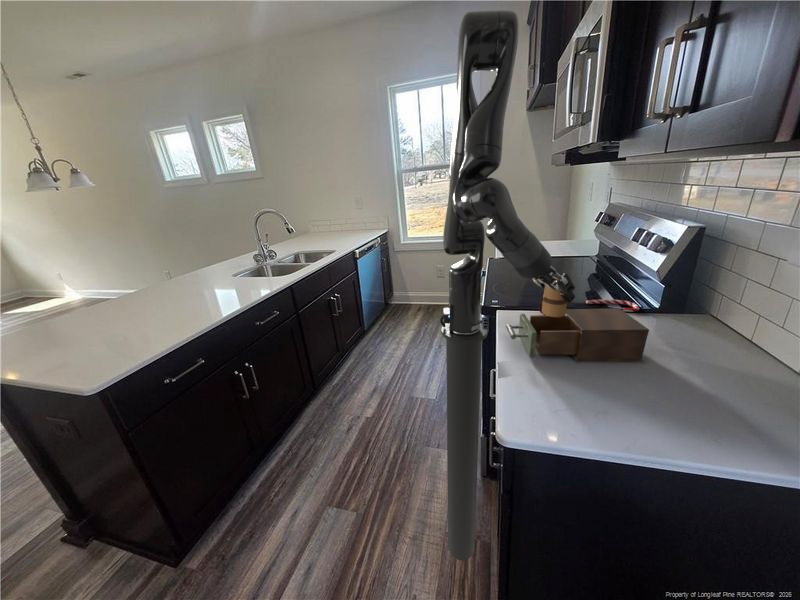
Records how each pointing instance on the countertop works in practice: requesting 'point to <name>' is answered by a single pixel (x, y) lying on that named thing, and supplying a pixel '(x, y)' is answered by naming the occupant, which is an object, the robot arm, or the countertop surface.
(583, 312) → the cabinet
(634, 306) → the candy cane
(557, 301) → the cookie roll
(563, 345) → the drawer
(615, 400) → the countertop surface
